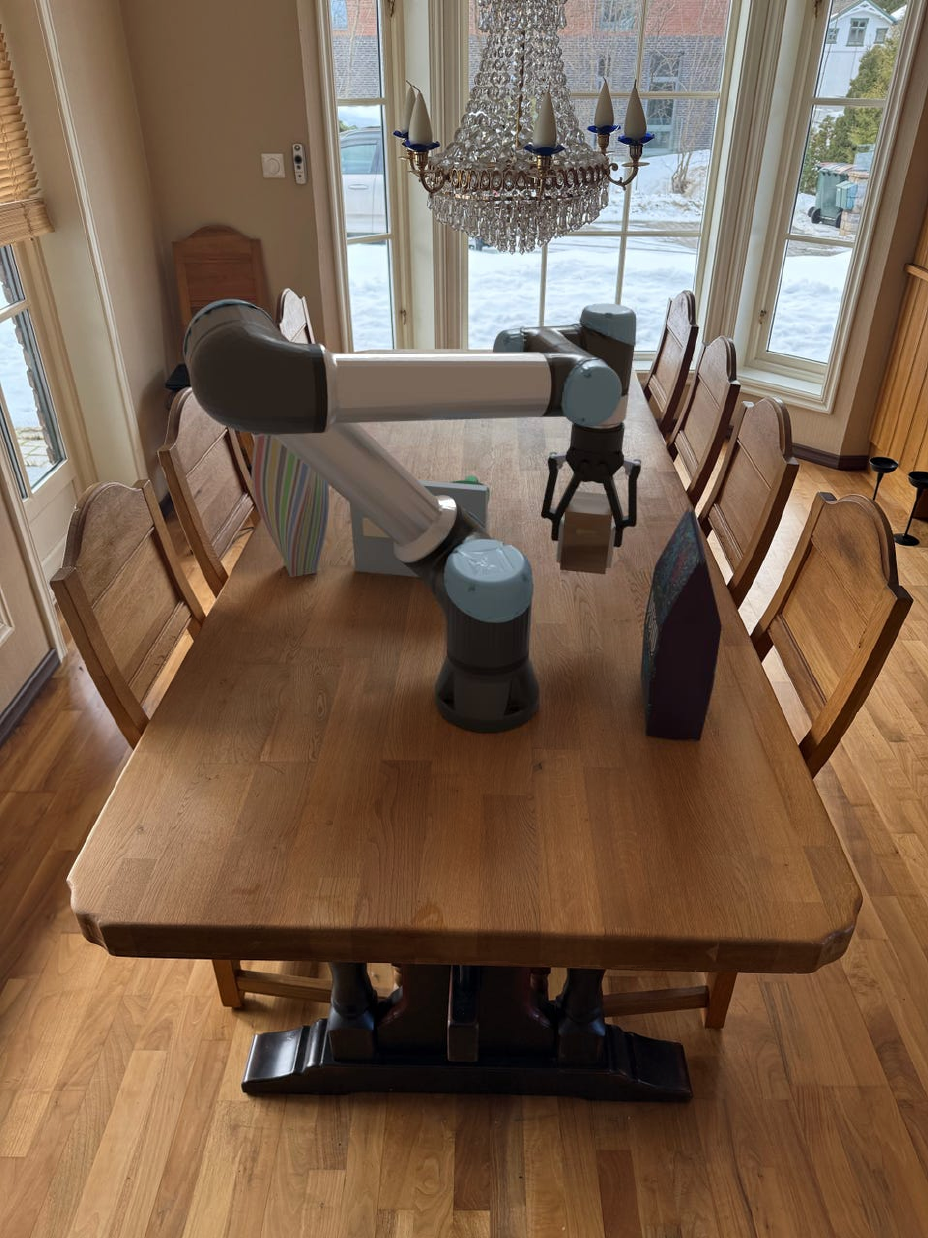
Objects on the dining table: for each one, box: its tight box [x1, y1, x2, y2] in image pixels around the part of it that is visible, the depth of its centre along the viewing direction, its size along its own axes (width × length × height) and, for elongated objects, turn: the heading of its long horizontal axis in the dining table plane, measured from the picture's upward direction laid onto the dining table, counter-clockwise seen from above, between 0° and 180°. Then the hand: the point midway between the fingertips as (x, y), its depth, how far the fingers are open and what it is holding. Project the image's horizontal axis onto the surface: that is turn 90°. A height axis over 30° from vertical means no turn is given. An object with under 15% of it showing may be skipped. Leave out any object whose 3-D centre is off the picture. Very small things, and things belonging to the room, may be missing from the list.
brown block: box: [559, 490, 613, 576], centre depth 135 cm, size 9×7×10 cm
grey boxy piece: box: [349, 479, 489, 578], centre depth 155 cm, size 11×24×18 cm, turn 79°
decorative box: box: [640, 507, 723, 741], centre depth 119 cm, size 8×16×28 cm, turn 173°
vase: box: [251, 435, 330, 578], centre depth 152 cm, size 14×14×30 cm
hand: (584, 560), depth 137 cm, fingers closed on brown block, 7 cm apart
